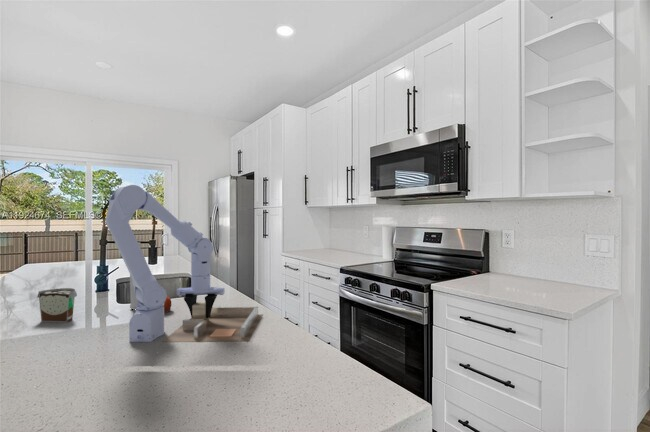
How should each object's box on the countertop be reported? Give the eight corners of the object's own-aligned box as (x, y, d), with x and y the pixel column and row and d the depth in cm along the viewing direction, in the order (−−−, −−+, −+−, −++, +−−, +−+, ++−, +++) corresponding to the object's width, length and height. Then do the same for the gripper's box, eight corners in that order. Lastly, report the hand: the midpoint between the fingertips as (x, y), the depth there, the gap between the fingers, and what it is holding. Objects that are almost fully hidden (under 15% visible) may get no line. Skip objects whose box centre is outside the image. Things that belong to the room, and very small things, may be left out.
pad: (230, 337, 93) (230, 336, 93) (209, 337, 93) (209, 336, 93) (236, 329, 99) (236, 328, 99) (216, 330, 99) (216, 329, 99)
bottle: (138, 310, 122) (138, 243, 122) (126, 310, 123) (126, 243, 123) (148, 306, 127) (148, 242, 127) (137, 306, 128) (136, 242, 128)
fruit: (170, 314, 113) (158, 294, 113) (150, 326, 113) (138, 306, 113) (180, 307, 121) (169, 288, 121) (162, 318, 121) (151, 300, 121)
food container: (86, 316, 115) (86, 288, 115) (71, 322, 109) (70, 292, 109) (54, 315, 116) (54, 287, 116) (37, 321, 110) (37, 291, 110)
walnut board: (248, 344, 90) (248, 341, 90) (161, 345, 90) (161, 342, 90) (263, 317, 114) (263, 314, 114) (194, 317, 114) (194, 315, 114)
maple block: (205, 324, 104) (205, 305, 104) (192, 324, 104) (192, 305, 104) (209, 320, 108) (209, 302, 108) (197, 320, 108) (197, 302, 108)
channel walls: (244, 338, 92) (244, 327, 92) (172, 339, 92) (172, 328, 92) (258, 315, 113) (258, 306, 113) (199, 315, 113) (199, 307, 113)
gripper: (227, 272, 110) (227, 313, 110) (183, 272, 109) (183, 313, 109) (220, 276, 103) (220, 320, 103) (173, 276, 102) (174, 320, 102)
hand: (201, 317), depth 106 cm, fingers closed on maple block, 4 cm apart
